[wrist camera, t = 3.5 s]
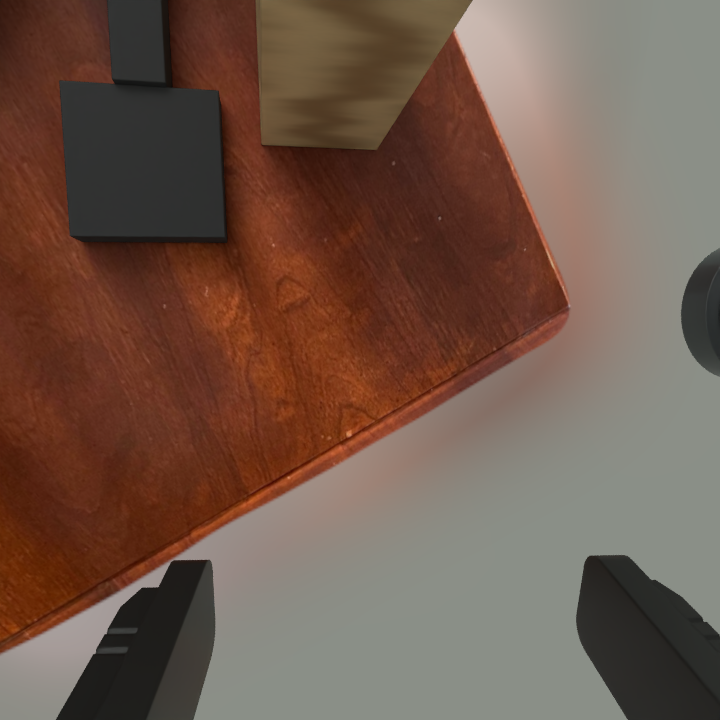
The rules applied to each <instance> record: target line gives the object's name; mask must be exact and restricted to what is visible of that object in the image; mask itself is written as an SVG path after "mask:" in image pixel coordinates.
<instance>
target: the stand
mask: <svg viewBox="0 0 720 720" xmlns="http://www.w3.org/2000/svg"><path fill="white" fill-rule="evenodd" d="M471 2H472V0H256V25H257V50H258V75H259V100H260V125H261V144H262V145H275V146H298V147H321V148H343V149H366V150H377V149H378V147H379V145H380V144H381V142H382V141H383V139H384V138H385V136H386V135H387V133H388V131H389V130H390V128H391V127H392V125H393V124H394V122H395V121H396V119H397V117H398V116H399V114H400V113H401V111H402V110H403V108H404V106H405V105H406V103H407V102H408V100H409V99H410V97H411V96H412V94H413V92H414V91H415V89H416V88H417V86H418V85H419V83H420V82H421V80H422V78H423V77H424V75H425V74H426V72H427V71H428V69H429V67H430V66H431V64H432V63H433V61H434V60H435V58H436V57H437V55H438V53H439V52H440V50H441V49H442V47H443V46H444V44H445V43H446V41H447V39H448V38H449V36H450V35H451V33H452V32H453V30H454V28H455V27H456V25H457V24H458V22H459V21H460V19H461V18H462V16H463V14H464V13H465V11H466V10H467V8H468V6H469V5H470V4H471Z"/></svg>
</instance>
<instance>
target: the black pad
mask: <svg viewBox="0 0 720 720" xmlns="http://www.w3.org/2000/svg"><path fill="white" fill-rule="evenodd" d="M107 5H108V22H109V38H110V55H111V71H112V80H113V81H114V83H115V84H107V83H92V82H76V81H59V83H60V97H61V112H62V127H63V141H64V156H65V170H66V185H67V200H68V214H69V229H70V236H71V237H73V238H75V239H77V240H80V241H82V242H193V243H227V223H226V201H225V179H224V157H223V135H222V113H221V102H220V97H219V91H216V90H201V89H185V88H172V72H171V53H170V33H169V14H168V0H107Z"/></svg>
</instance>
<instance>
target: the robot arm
mask: <svg viewBox="0 0 720 720" xmlns="http://www.w3.org/2000/svg"><path fill="white" fill-rule="evenodd" d="M719 318H720V311H719ZM576 623H577V630H578V635H579V638H580V641H581V644H582V646H583V648H584V649H585V651H586V653H587V655H588V656H589V658H590V660H591V661H592V662H593V664H594V666H595V668H596V669H597V671H598V672H599V674H600V676H601V677H602V679H603V680H604V682H605V684H606V685H607V687H608V688H609V690H610V692H611V693H612V695H613V697H614V698H615V700H616V701H617V703H618V705H619V706H620V708H621V709H622V711H623V713H624V714H625V716H626V718H627V719H628V720H720V636H719V634H718V633H717V632H716V631H715V630H714V629H713V628H712V627H711V626H710V625H709V624H708V623H707V622H703V619H702V617H701V616H700V615H699V614H698V613H697V612H696V611H695V610H694V609H693V608H692V607H691V606H690V605H689V604H688V603H687V602H686V601H685V600H684V599H683V598H682V597H681V596H680V595H678V594H676V593H675V592H673V591H672V590H670V589H669V588H667V587H666V586H664V585H663V584H661V583H659V582H658V581H656V580H651V579H649V577H648V576H647V575H646V574H645V573H644V572H643V571H642V570H641V569H640V568H639V567H638V566H637V565H636V564H635V563H634V562H633V561H632V560H631V559H630V558H629V557H628V556H625V555H608V556H607V555H603V556H589V557H588V558H587V559H586V561H585V564H584V570H583V576H582V583H581V589H580V596H579V602H578V608H577V617H576ZM214 637H215V607H214V588H213V570H212V563H211V561H210V560H174V561H172V562H171V564H170V565H169V567H168V569H167V571H166V573H165V575H164V577H163V579H162V582H161V583H160V585H159V587H158V588H157V587H156V588H141V589H140V590H139V591H138V592H137V593H136V594H135V595H134V596H132V597H131V598H130V599H129V600H128V601H127V602H126V603H125V604H123V605H122V606H121V607H120V609H119V611H118V612H117V614H116V616H115V618H114V619H113V621H112V623H111V625H110V626H109V628H108V631H107V634H105V635H104V637H103V638H102V640H101V642H100V644H99V646H98V647H97V649H96V654H93V656H92V658H91V660H90V661H89V663H88V665H87V666H86V668H85V670H84V672H83V674H82V675H81V677H80V679H79V680H78V682H77V684H76V686H75V687H74V689H73V691H72V692H71V695H70V696H69V698H68V699H67V701H66V703H65V705H64V706H63V708H62V710H61V712H60V714H59V715H58V717H57V719H56V720H193V719H194V715H195V712H196V708H197V705H198V702H199V698H200V695H201V691H202V687H203V684H204V681H205V677H206V674H207V670H208V666H209V663H210V660H211V656H212V651H213V646H214Z"/></svg>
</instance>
